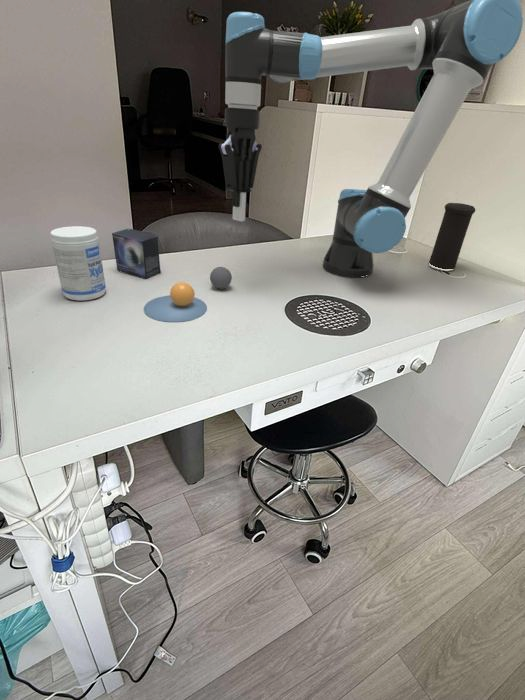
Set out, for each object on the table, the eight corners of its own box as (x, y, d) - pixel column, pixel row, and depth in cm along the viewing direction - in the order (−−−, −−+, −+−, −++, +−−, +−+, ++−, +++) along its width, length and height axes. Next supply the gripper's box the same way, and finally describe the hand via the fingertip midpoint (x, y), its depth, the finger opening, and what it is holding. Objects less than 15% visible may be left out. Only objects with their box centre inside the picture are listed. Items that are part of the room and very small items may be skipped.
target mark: (219, 307, 90) (219, 306, 90) (174, 328, 80) (174, 327, 80) (176, 291, 97) (176, 290, 97) (130, 308, 87) (130, 307, 87)
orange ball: (181, 290, 84) (183, 313, 87) (198, 282, 88) (200, 304, 91) (163, 283, 86) (166, 306, 90) (181, 276, 90) (183, 297, 93)
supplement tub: (104, 301, 89) (94, 237, 82) (59, 303, 87) (44, 237, 79) (108, 285, 97) (99, 225, 90) (67, 286, 95) (54, 225, 87)
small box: (115, 271, 106) (109, 232, 100) (132, 265, 111) (128, 227, 105) (145, 280, 102) (141, 240, 97) (161, 273, 107) (158, 234, 102)
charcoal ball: (221, 269, 95) (219, 291, 96) (237, 268, 99) (235, 289, 100) (206, 265, 98) (204, 286, 100) (222, 264, 102) (220, 285, 104)
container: (457, 267, 129) (478, 204, 118) (452, 274, 122) (474, 208, 112) (430, 261, 132) (448, 199, 122) (424, 268, 126) (443, 203, 115)
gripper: (247, 108, 90) (243, 213, 102) (208, 104, 81) (209, 221, 93) (273, 110, 87) (266, 219, 99) (236, 106, 77) (233, 227, 89)
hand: (238, 219), depth 96 cm, fingers closed
